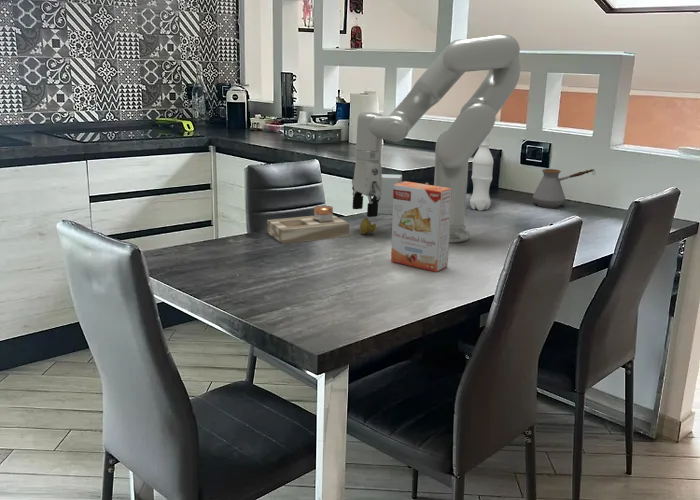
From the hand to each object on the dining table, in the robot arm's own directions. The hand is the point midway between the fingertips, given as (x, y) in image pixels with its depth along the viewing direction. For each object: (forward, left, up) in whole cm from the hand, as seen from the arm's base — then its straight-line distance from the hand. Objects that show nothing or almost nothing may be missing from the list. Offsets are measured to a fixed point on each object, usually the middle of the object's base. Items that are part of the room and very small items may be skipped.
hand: (364, 212), depth 204 cm
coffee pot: (+5, -82, -7) cm, 82 cm away
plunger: (+5, +11, -3) cm, 13 cm away
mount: (+5, +16, -7) cm, 18 cm away
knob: (-1, -1, -7) cm, 7 cm away
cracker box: (-34, +1, -7) cm, 34 cm away
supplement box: (+22, -21, -7) cm, 31 cm away
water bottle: (+14, -53, -7) cm, 55 cm away
